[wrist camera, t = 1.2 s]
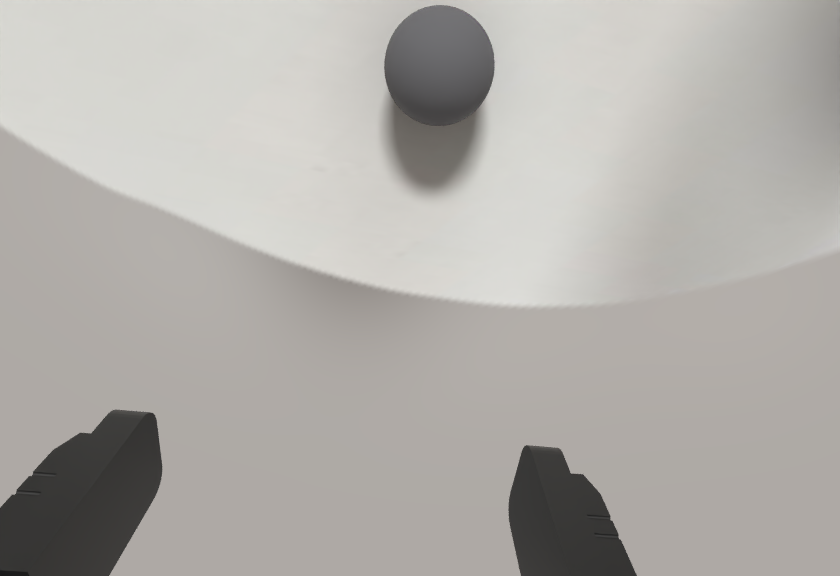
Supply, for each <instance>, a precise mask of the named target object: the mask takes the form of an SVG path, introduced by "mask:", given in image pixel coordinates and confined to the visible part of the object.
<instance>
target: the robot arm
mask: <svg viewBox="0 0 840 576" xmlns="http://www.w3.org/2000/svg"><path fill="white" fill-rule="evenodd" d="M161 476H162V460H161V453H160V445H159V436H158V428H157V420H156V417H155V415H154V414H153V413H149V412H137V411H125V410H113V411H111V412H110V413H109V414H108V415H107V416H106V417H105V418H104V419H103V420H102V422H101V423H100V424H99V425H98V426H97V427H96V429H95V430H94V431H93V432H92V433H91V434H88V433H79V434H78V435H76V436H74V437H73V438H71V439H70V440H69V441H67V442H65V443H63V444H62V445H60V446H59V447H58V448H56V449H54V450H53V451H52V452H51V453H50V454H49V455H48V456H47V457H46V459H44V461H43V462H42V463H41V464H40V465H39V466H38V467H37V468H36V469H35V471H34V472H33V475H32V476H29V477H28V478H27V479H26V480H25V481H24V482H23V483H22V485H21V486H20V487H19V488H18V489H17V492H16V494H15V495H12V496H11V497H10V498H9V499H8V500H7V501H6V502H5V503H4V504H3V505H2V506H1V508H0V576H109V575H110V573H111V571H112V570H113V568H114V566H115V565H116V563H117V561H118V559H119V558H120V556H121V554H122V552H123V551H124V549H125V547H126V546H127V544H128V542H129V541H130V539H131V537H132V535H133V534H134V532H135V530H136V529H137V527H138V525H139V523H140V522H141V520H142V518H143V517H144V515H145V513H146V511H147V510H148V508H149V506H150V504H151V503H152V501H153V499H154V498H155V495H156V493H157V491H158V488H159V485H160V481H161ZM509 522H510V527H511V532H512V537H513V541H514V546H515V550H516V555H517V559H518V564H519V569H520V573H521V576H637V575H636V573H635V571H634V569H633V566H632V564H631V562H630V560H629V557H628V555H627V553H626V550H625V548H624V546H623V544H622V541H621V540H619V538H618V532H617V530H616V528H615V526H614V523H613V521H611V520H610V514H609V512H608V510H607V508H606V506H605V503H604V501H603V499H602V497H601V494H600V493H599V492H598V491H597V490H596V489H595V487H594V486H593V485H592V484H591V483H590V482H589V481H588V480H587V478H586V477H585V476H584V475H583V474H571V473H570V471H569V468H568V465H567V463H566V460H565V458H564V455H563V453H562V451H561V450H560V449H559V448H551V447H539V446H527V445H526V446H525V447H524V448H523V450H522V453H521V457H520V460H519V464H518V467H517V471H516V475H515V478H514V482H513V485H512V489H511V493H510V498H509Z"/></svg>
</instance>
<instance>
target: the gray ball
mask: <svg viewBox="0 0 840 576" xmlns="http://www.w3.org/2000/svg"><path fill="white" fill-rule="evenodd" d="M384 69H385V78H386V83H387V86H388V89H389V92H390V94H391V96H392V98H393V99H394V101H395V103H396V104H397V105H398V106H399V108H400V109H401V110H402V111H403V112H404V113H405V114H407V115H408V116H409V117H411V118H412V119H414V120H416V121H418V122H421V123H424V124H428V125H434V126H444V125H450V124H453V123H456V122H459V121H461V120H463V119H465V118H466V117H468V116H469V115H471V114H472V113H473V112H474V111H475V110H476V109H477V108H478V107H479V106H480V105H481V104H482V102H483V101H484V99H485V98H486V96H487V94H488V92H489V89H490V87H491V84H492V80H493V76H494V53H493V49H492V45H491V42H490V40H489V37H488V35H487V34H486V32H485V30H484V29H483V27H482V26H481V25H480V24H479V22H478V21H477V20H476V19H475V18H473V17H472V16H471V15H470V14H468V13H466V12H465V11H463V10H460V9H458V8H455V7H451V6H444V5H436V6H430V7H425V8H423V9H420V10H418V11H416V12H414V13H412V14H411V15H410V16H408V17H407V18H406V19H405V20H404V21H403V22H402V23H401V24H400V25H399V26H398V27H397V29H396V30H395V32H394V33H393V35H392V37H391V39H390V41H389V44H388V47H387V50H386V55H385V67H384Z"/></svg>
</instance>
